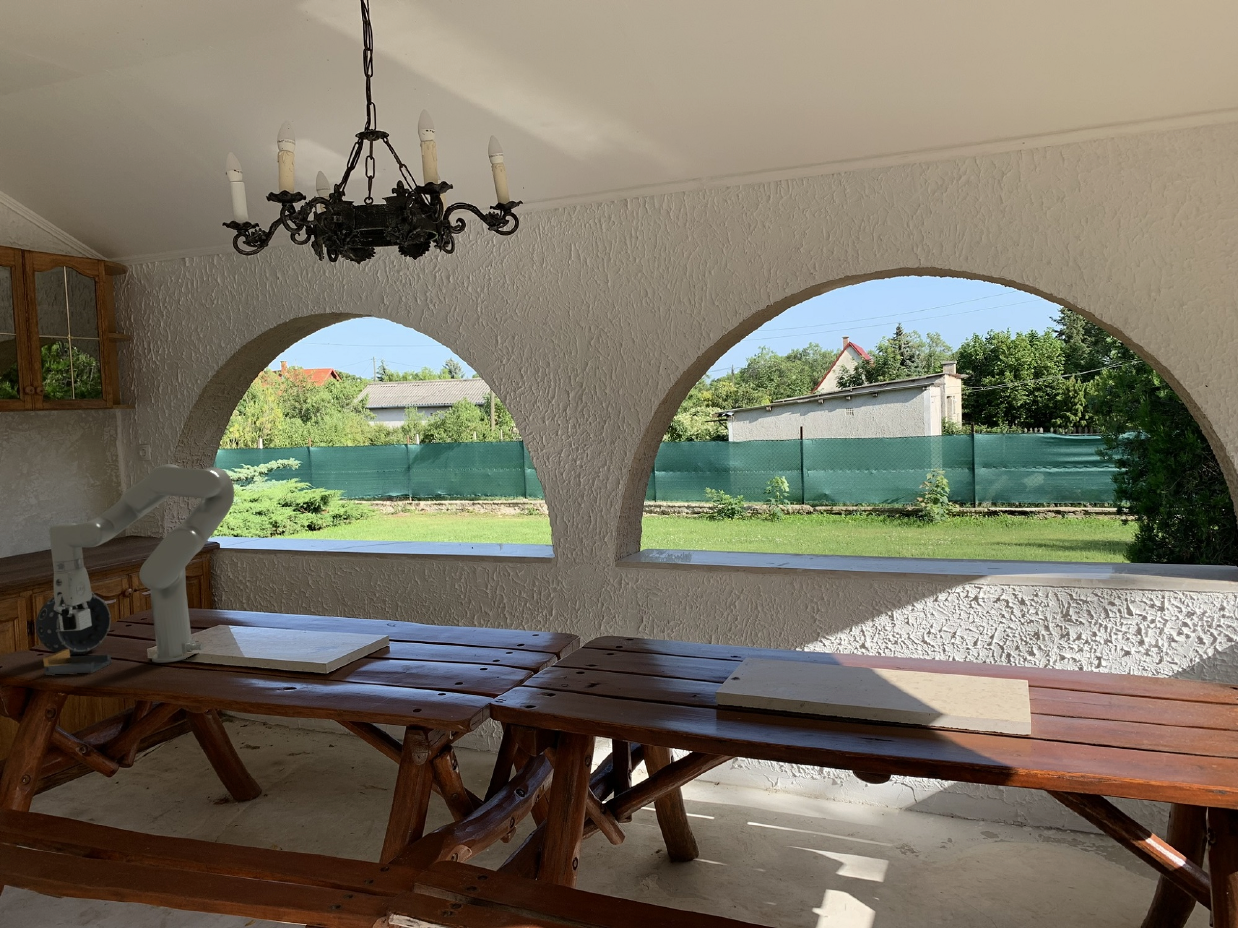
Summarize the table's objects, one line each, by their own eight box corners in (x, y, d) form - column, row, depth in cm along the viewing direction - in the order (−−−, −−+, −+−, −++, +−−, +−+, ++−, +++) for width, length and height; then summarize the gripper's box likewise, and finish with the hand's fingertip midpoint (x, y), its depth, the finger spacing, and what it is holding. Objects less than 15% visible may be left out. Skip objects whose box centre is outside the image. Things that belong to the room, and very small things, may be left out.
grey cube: (91, 625, 264) (89, 608, 263) (80, 629, 259) (78, 613, 258) (70, 626, 264) (68, 609, 264) (58, 631, 259) (56, 614, 259)
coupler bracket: (111, 663, 266) (109, 646, 266) (91, 673, 257) (89, 655, 257) (66, 665, 268) (64, 648, 267) (45, 675, 259) (43, 658, 258)
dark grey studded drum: (119, 645, 288) (111, 584, 286) (57, 664, 270) (49, 599, 268) (97, 643, 293) (89, 583, 291) (35, 662, 275) (26, 598, 273)
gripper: (60, 571, 251) (68, 634, 253) (100, 559, 268) (107, 619, 269) (35, 572, 252) (43, 635, 253) (76, 560, 269) (83, 620, 270)
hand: (76, 626), depth 261 cm, fingers closed on grey cube, 5 cm apart
